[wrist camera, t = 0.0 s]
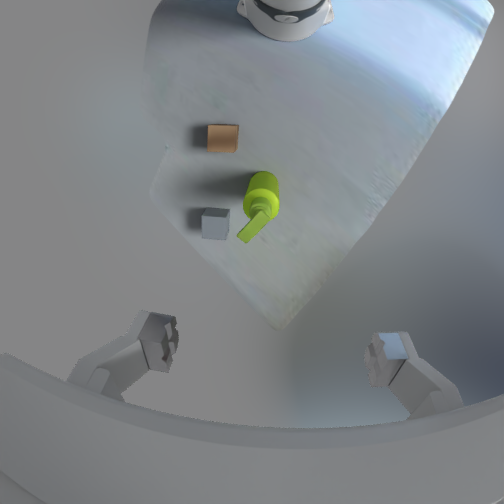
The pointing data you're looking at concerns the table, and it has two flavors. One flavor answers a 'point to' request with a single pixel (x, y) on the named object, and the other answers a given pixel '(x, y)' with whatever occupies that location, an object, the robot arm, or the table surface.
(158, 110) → the table surface
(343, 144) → the table surface
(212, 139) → the walnut block
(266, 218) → the soap dispenser
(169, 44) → the table surface
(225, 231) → the slate-grey block
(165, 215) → the table surface
